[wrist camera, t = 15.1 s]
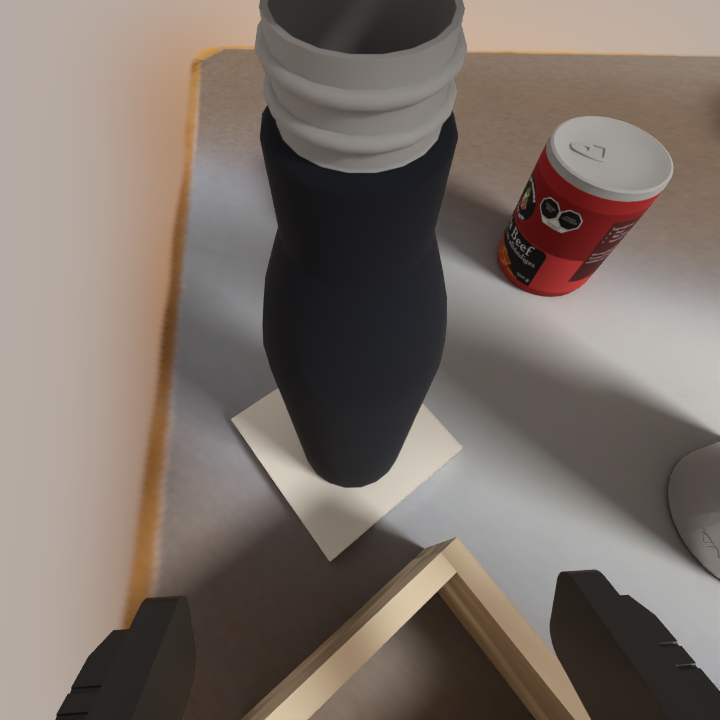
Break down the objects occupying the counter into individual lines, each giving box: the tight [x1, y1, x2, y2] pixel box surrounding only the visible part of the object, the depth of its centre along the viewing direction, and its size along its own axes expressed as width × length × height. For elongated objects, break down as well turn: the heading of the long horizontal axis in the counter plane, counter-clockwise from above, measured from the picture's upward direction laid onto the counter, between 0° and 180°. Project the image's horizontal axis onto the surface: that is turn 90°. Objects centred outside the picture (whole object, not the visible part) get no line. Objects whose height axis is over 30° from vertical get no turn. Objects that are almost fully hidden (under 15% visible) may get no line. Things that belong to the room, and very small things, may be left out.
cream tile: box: [231, 388, 463, 562], centre depth 29 cm, size 11×11×1 cm
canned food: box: [498, 116, 673, 297], centre depth 32 cm, size 8×8×11 cm
